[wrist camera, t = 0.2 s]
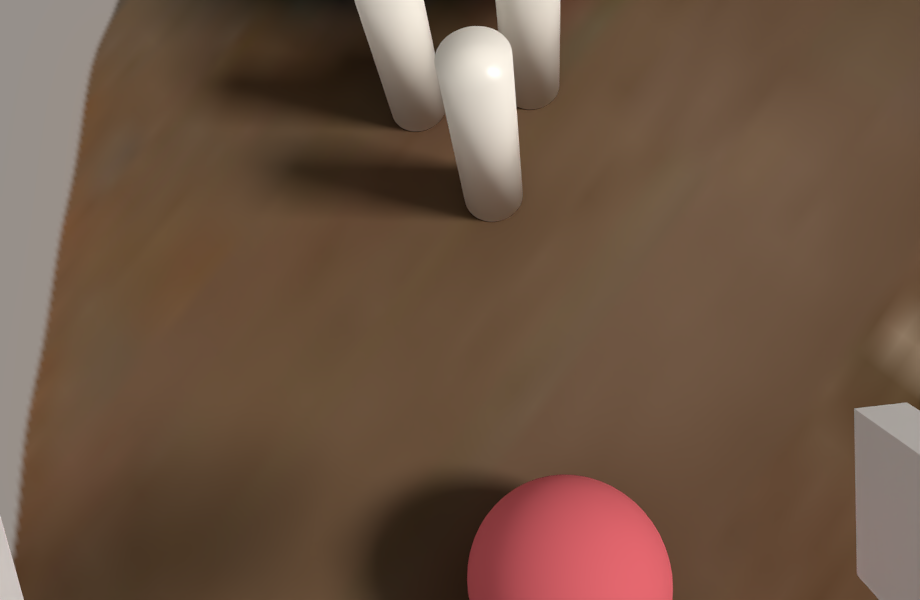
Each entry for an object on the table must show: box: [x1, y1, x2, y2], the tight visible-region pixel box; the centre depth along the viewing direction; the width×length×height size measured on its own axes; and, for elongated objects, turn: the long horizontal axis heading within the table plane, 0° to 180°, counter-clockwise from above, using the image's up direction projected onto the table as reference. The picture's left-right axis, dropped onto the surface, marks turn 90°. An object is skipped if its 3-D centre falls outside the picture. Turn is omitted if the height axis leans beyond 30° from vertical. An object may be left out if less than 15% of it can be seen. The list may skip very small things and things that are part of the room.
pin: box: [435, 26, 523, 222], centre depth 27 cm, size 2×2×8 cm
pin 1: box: [354, 0, 445, 132], centre depth 29 cm, size 2×2×8 cm
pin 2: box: [495, 0, 560, 110], centre depth 29 cm, size 2×2×8 cm
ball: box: [467, 475, 673, 600], centre depth 22 cm, size 6×6×6 cm
